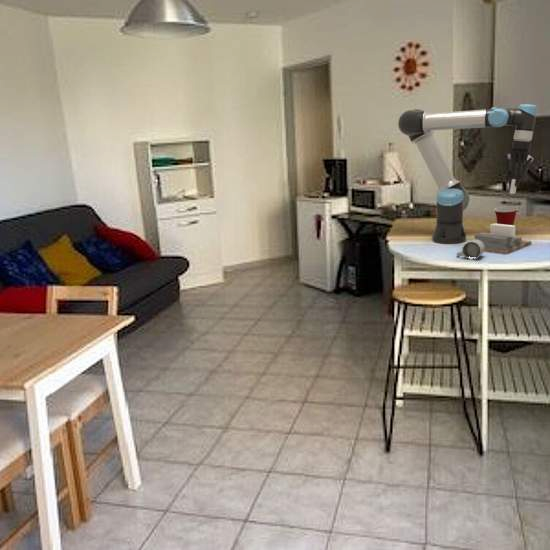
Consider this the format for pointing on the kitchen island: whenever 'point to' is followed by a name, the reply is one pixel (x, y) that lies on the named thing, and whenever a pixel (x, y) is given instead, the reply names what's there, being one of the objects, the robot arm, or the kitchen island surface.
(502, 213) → the plastic cup
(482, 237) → the housing
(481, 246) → the ceramic mug
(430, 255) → the kitchen island surface
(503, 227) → the cream rectangular block
